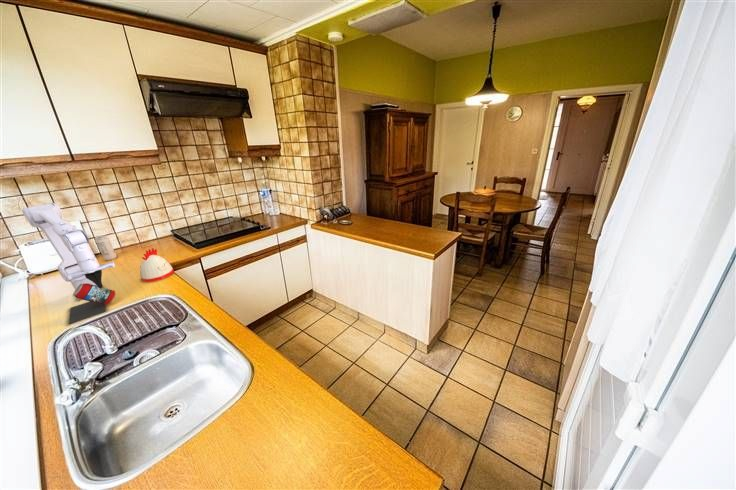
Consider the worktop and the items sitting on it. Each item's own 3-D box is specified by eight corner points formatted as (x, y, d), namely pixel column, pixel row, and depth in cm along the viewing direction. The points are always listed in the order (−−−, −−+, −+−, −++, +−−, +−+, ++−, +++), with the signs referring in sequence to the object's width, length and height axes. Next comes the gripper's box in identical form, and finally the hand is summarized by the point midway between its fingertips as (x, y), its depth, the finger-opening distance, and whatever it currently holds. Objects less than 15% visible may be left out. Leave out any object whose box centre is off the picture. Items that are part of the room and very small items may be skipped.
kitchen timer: (179, 269, 148) (170, 245, 142) (157, 282, 136) (146, 256, 130) (158, 268, 151) (148, 244, 145) (135, 281, 138) (123, 255, 132)
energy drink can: (119, 257, 170) (109, 235, 164) (109, 261, 164) (98, 238, 159) (112, 256, 171) (102, 235, 165) (102, 260, 166) (91, 238, 160)
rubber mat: (71, 308, 118) (70, 307, 118) (104, 297, 125) (103, 296, 125) (69, 324, 107) (68, 323, 107) (105, 311, 114) (105, 310, 114)
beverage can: (111, 304, 116) (75, 296, 108) (104, 306, 119) (69, 298, 111) (119, 290, 120) (84, 280, 111) (112, 292, 123) (79, 283, 114)
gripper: (60, 268, 103) (77, 297, 109) (109, 255, 113) (123, 283, 118) (61, 263, 108) (78, 291, 113) (108, 251, 117) (121, 278, 123)
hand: (101, 287), depth 116 cm, fingers closed, pressing on beverage can
